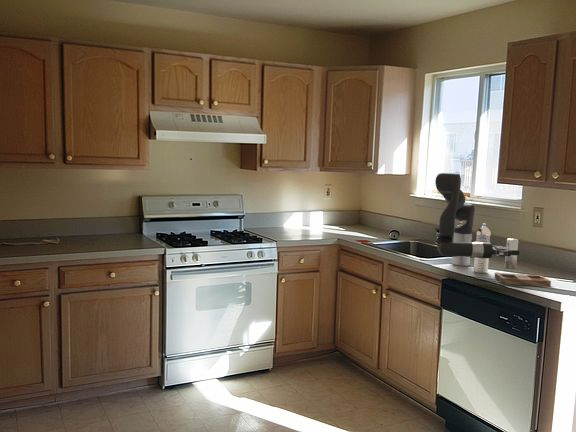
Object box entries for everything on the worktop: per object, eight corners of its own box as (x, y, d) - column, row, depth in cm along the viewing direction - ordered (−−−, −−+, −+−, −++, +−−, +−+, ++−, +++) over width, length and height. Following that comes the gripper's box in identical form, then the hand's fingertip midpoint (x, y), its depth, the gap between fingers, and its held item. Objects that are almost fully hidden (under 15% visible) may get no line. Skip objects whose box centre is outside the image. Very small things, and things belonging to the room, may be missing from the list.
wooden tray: (494, 277, 270) (495, 272, 270) (540, 280, 268) (541, 274, 268) (501, 283, 258) (502, 278, 258) (550, 286, 256) (551, 280, 256)
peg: (503, 266, 266) (505, 238, 264) (513, 267, 265) (516, 238, 263) (506, 268, 261) (508, 239, 259) (517, 269, 260) (519, 240, 258)
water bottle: (470, 271, 281) (474, 223, 278) (477, 270, 286) (481, 222, 283) (483, 274, 276) (487, 224, 273) (489, 272, 281) (494, 224, 278)
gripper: (485, 245, 256) (523, 246, 254) (477, 239, 270) (513, 241, 268) (484, 260, 257) (521, 262, 255) (476, 254, 271) (512, 256, 269)
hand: (517, 251), depth 262 cm, fingers closed on peg, 5 cm apart
